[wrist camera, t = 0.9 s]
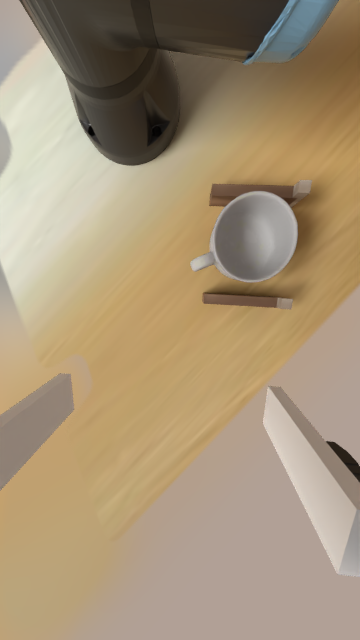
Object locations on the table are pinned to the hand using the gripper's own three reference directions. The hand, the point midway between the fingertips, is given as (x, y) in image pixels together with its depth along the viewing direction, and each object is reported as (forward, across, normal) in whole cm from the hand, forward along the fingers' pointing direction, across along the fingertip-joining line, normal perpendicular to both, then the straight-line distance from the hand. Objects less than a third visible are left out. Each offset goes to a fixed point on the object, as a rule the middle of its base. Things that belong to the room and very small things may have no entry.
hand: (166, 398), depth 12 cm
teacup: (+23, +8, +12) cm, 27 cm away
